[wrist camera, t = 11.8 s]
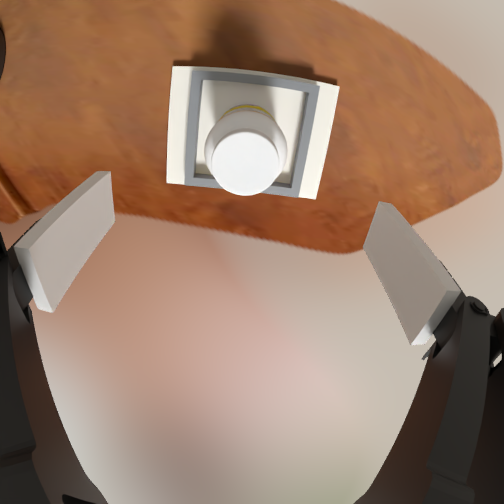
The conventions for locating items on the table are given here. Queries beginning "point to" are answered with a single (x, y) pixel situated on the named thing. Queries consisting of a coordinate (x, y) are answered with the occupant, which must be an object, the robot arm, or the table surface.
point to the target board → (256, 93)
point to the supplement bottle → (245, 150)
